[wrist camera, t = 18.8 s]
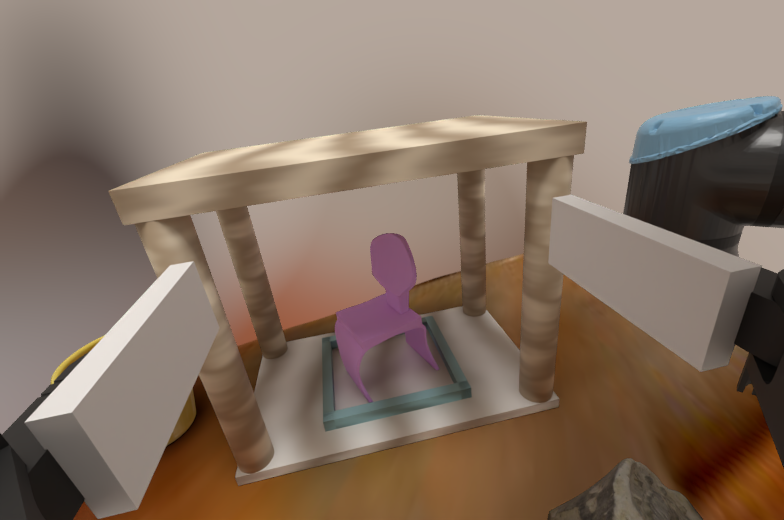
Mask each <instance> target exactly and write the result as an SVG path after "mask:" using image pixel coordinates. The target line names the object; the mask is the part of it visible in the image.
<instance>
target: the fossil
mask: <svg viewBox="0 0 784 520" xmlns="http://www.w3.org/2000/svg"><path fill="white" fill-rule="evenodd" d="M548 520H703V519H702V517H701V516H700V515H699V514H698V512H697V511H696V510H695V509H694V507H693V506H692V505H691V503H690V502H689V501H688V499H687V498H686V497H685V496H683V495H682V494H681V493H680V492H677V491H675V490H670V489H668V488H667V487H665V486H664V485H663V484H662V483H661V482H660V480H659V478H658V477H657V476H656V475H655V474H654V473H652V472H651V471H650V470H649V469H648V468H647V467H646V466H645V465H643V464H642V463H640V462H635V461H634V460H633V459H632V458H626V459H624V460H622V461H621V462H620V463H618V464H617V465H616V466H615V467H614V468H613V469H612V470H611V471H610V472H609V473H608V474H607V475H606V476H605V477H603V478H602V479H601V480H600V481H598V482H597V483H596V484H594V485H593V486H592V487H590V488H589V489H588V490H586V491H585V492H583V493H582V494H580V495H578V496H577V497H575V498H573V499H572V500H570V501H568V502H566V503H564V504H562V505H560V506H558V507H556V508H555V509H553V510H551V511H549V514H548Z"/></svg>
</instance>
